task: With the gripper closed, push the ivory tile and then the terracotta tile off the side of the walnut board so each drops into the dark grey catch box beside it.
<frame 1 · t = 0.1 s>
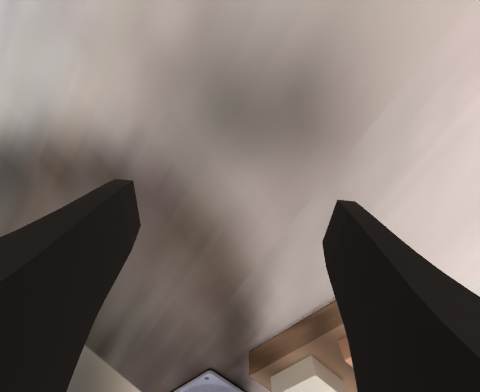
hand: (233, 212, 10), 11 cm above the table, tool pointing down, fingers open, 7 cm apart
walnut board: (338, 342, 28), on the table
ivory tile: (306, 378, 27), point 2 cm above the table, touching walnut board
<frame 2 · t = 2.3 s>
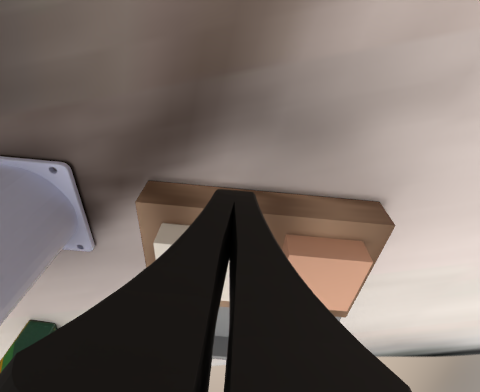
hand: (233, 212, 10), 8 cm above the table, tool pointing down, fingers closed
terracotta tile: (315, 263, 19), point 2 cm above the table, touching walnut board
catch box: (245, 312, 27), on the table
crayon box: (51, 336, 31), on the table
walnut board: (256, 243, 21), on the table
ivory tile: (200, 253, 19), point 2 cm above the table, touching walnut board
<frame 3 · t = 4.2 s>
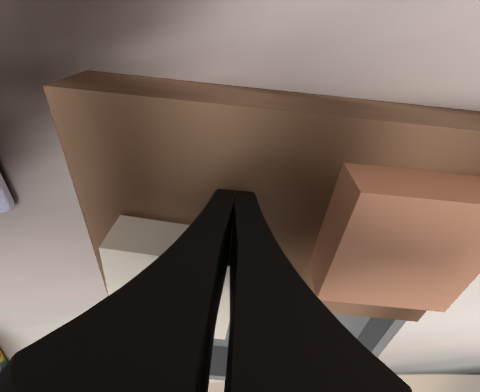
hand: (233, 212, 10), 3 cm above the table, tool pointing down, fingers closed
terracotta tile: (387, 226, 10), point 2 cm above the table, touching walnut board
catch box: (253, 312, 18), on the table
walnut board: (276, 199, 13), on the table
ivory tile: (181, 265, 12), point 2 cm above the table, touching gripper, walnut board
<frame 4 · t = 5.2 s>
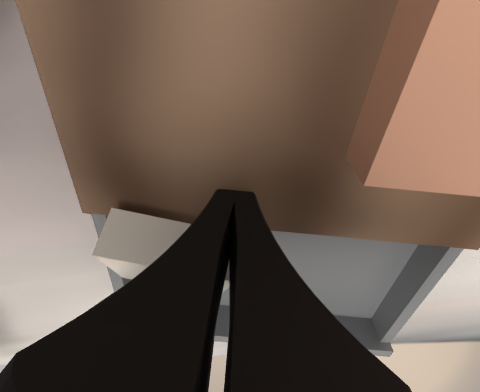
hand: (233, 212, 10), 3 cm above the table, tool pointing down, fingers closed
terracotta tile: (462, 83, 7), point 2 cm above the table, touching walnut board
catch box: (264, 260, 15), on the table
walnut board: (299, 86, 10), on the table
ivory tile: (179, 239, 12), point 2 cm above the table, tilted 29°, touching catch box, gripper, walnut board
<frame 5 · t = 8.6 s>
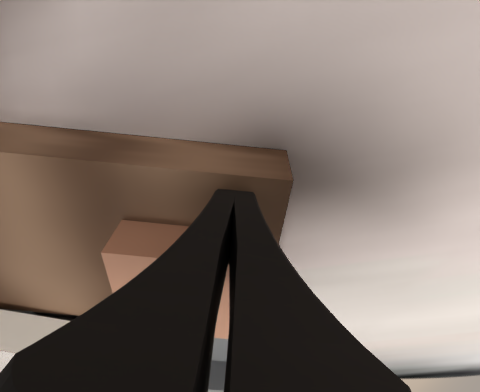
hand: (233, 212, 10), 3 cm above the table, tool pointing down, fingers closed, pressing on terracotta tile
terracotta tile: (185, 266, 12), point 2 cm above the table, touching gripper, walnut board
catch box: (141, 321, 20), on the table
walnut board: (119, 221, 14), on the table
ivory tile: (56, 317, 17), point 2 cm above the table, tilted 28°, touching catch box, walnut board
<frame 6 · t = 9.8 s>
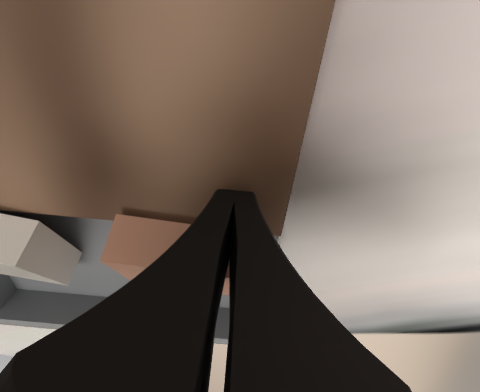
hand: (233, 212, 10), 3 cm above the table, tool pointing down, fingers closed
terracotta tile: (186, 242, 13), point 2 cm above the table, tilted 28°, touching catch box, gripper
catch box: (126, 250, 15), on the table
walnut board: (86, 73, 10), on the table
ivory tile: (9, 228, 13), point 2 cm above the table, tilted 28°, touching catch box, walnut board
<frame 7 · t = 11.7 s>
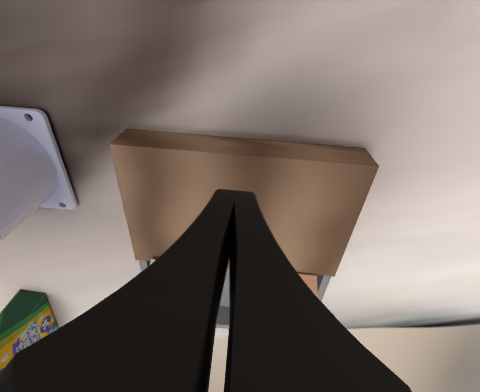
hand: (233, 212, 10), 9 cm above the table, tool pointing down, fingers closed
terracotta tile: (278, 279, 23), point 2 cm above the table, tilted 26°, touching catch box, walnut board
catch box: (234, 278, 26), on the table
crayon box: (42, 308, 31), on the table
walnut board: (240, 199, 21), on the table
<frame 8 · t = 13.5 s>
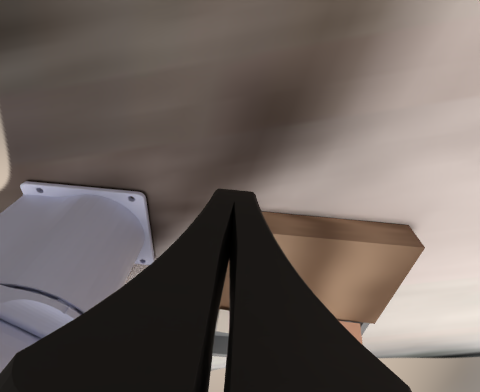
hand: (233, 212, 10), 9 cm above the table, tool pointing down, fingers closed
terracotta tile: (323, 322, 27), point 2 cm above the table, tilted 26°, touching catch box, walnut board
catch box: (279, 317, 30), on the table
walnut board: (297, 258, 24), on the table
ivory tile: (241, 315, 27), point 2 cm above the table, tilted 28°, touching catch box, walnut board
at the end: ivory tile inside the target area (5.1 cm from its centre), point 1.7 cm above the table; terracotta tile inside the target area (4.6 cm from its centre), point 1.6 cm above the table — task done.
